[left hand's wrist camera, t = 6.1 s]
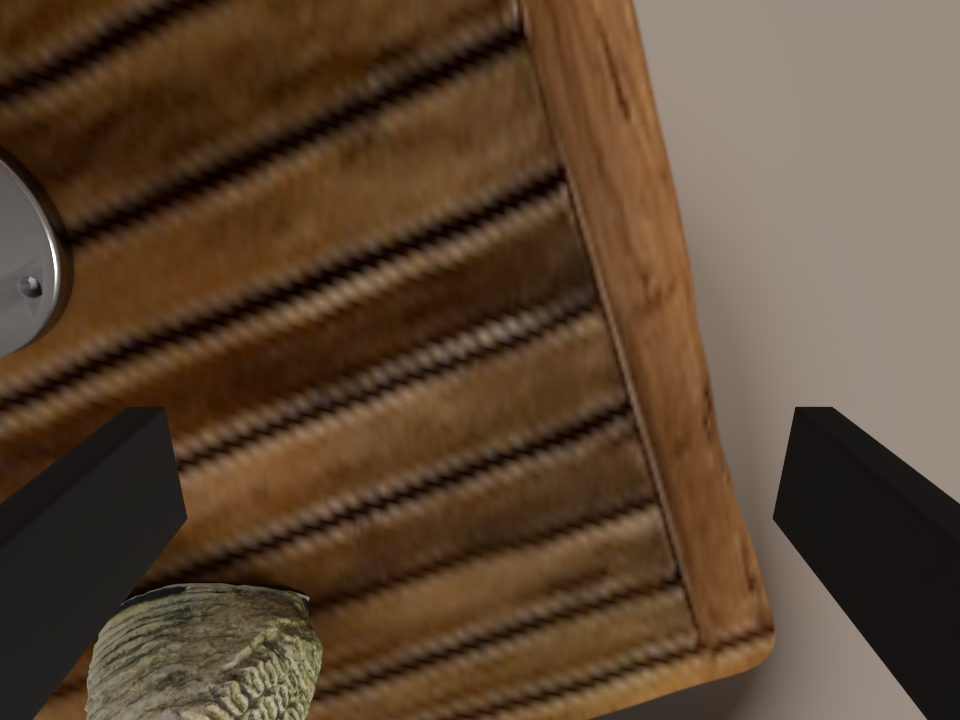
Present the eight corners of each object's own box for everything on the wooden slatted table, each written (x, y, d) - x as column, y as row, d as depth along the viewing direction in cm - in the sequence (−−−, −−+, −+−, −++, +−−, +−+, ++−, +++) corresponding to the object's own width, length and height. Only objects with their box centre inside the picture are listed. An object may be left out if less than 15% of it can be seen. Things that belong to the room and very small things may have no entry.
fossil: (349, 633, 50) (298, 828, 36) (148, 676, 52) (24, 878, 37) (312, 549, 47) (240, 725, 33) (99, 597, 49) (-56, 785, 34)
